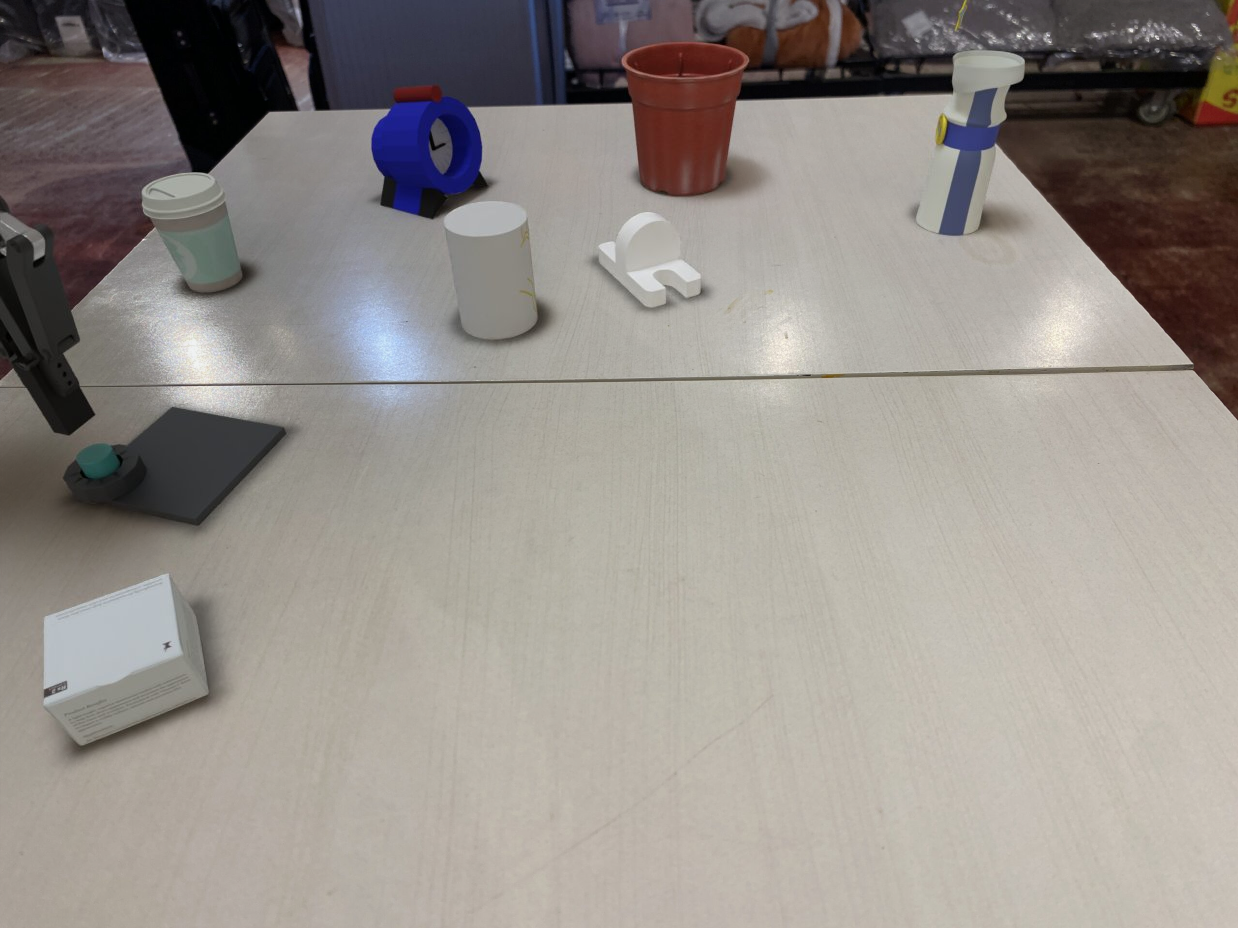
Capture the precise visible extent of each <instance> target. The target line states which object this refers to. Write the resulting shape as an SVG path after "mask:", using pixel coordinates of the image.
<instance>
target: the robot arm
mask: <svg viewBox="0 0 1238 928" xmlns="http://www.w3.org/2000/svg"><path fill="white" fill-rule="evenodd" d="M55 238H56V237H55V234H54V232H53V230H52V229H51V227H49V226H48V225H47V224H45V223H41V222H40V223H38V224H36V225H34V226H32V227H30V226H29V225H27V224H25V223H24V222H23V221H20V220H19V219H18V218H16V217H15V216H13V215H12V214H11V209H10V207H9V205H8V203H7V201H6V200H5V198H4V197H2V195H0V358H1V359H3V360H7V361H8V362H9V364H10V365H11V367H12V369H13V371H14V373H15V374H16V375H17V378H18V379H19V380H20V382H21V383H22V385H23V386H24V387H25V388H26V390H27V391H28V394H29V395H30V396H31V398H32V399H33V401H34V403H35V405H36V406H37V408H38V409H39V411H40V413H41V414H42V416H43V417H44V420H45V421H46V422H47V424H48V425H49V427H50V429H51V430H52V432H53V433H54V434H59V435H64V436H68V437H69V436H71V435H73V434H74V433H75V432H77V430H78V429H80V428H81V427H83V426H84V425H85V424H86V423H87V422H89V421H90V420H91V419H92V418H94V417H95V416H96V412H95V411H94V409H93V407H92V406H91V404H90V402H89V400H88V399H87V397H86V395H85V394H84V392H83V389H82V388H81V386H80V381H79V379H78V377H77V375H76V374H75V372H74V371H73V369H72V367H71V365H70V363H69V362H68V360H67V359H68V358H67V357H66V356H65V353H66V352H67V351H68V350H70V349H72V348H73V347H74V346H76V345H78V344H79V343H80V342H81V337H80V334H79V331H78V327H77V325H76V322H75V318H74V316H73V312H72V309H71V306H70V302H69V300H68V297H67V294H66V291H65V288H64V287H65V286H64V284H63V281H62V278H61V275H60V271H59V269H58V265H57V262H56V260H55V257H54V256H55V255H54V254H55V240H56V239H55Z"/></svg>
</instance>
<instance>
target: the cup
mask: <svg viewBox="0 0 1238 928" xmlns="http://www.w3.org/2000/svg"><path fill="white" fill-rule="evenodd" d="M443 226H444V232H445V233H444V234H445V238H446V244H447V250H448V256H449V260H450V261H449V262H450V266H451V272H452V278H453V284H454V288H455V295H456V300H457V301H456V302H457V307H458V311H459V317H460V318H459V319H460V323H461V327H462V329H463V330H464V331H465V332H466V333H467V334H468V335H470V336H473V337H475V338H479V339H483V340H506V339H510V338H514V337H518V336H520V335H522V334H525V333H527V331H530V330H531V329H532V328H533V327H534V326H535V325H536V324H537V321H538V319H539V318H538V317H539V316H538V315H539V314H538V306H537V305H538V304H537V297H536V287H535V286H536V285H535V276H534V268H533V267H534V266H533V259H532V249H531V238H530V229H529V219H528V213H527V211H526V209H525V208H523V207H522V206H520V205H518V204H516V203H513V202H508V201H501V200H485V201H483V200H482V201H477V202H472V203H467V204H464V205H460V206H459V207H457V208H454V209H453V210H451V211H450V212H448V213H447V214H446V215H445V216H444V218H443Z"/></svg>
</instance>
